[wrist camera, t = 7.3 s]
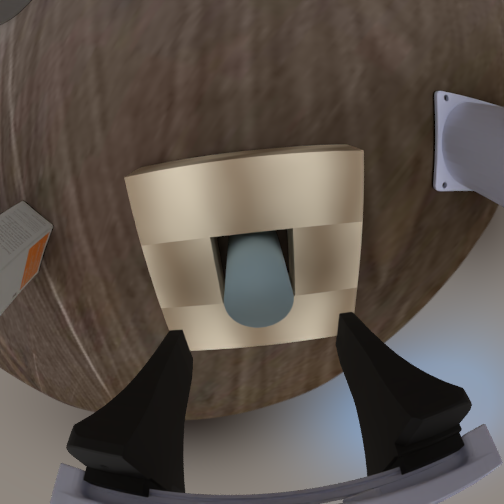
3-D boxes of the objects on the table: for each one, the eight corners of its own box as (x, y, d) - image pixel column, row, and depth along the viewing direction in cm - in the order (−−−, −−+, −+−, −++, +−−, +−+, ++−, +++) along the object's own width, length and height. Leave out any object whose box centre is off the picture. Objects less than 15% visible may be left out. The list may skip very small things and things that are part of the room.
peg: (278, 218, 20) (294, 269, 14) (278, 262, 22) (292, 325, 16) (226, 220, 20) (220, 274, 14) (230, 265, 22) (227, 329, 16)
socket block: (346, 144, 18) (363, 150, 15) (341, 310, 24) (351, 333, 22) (140, 167, 18) (124, 177, 15) (182, 326, 24) (177, 351, 22)
